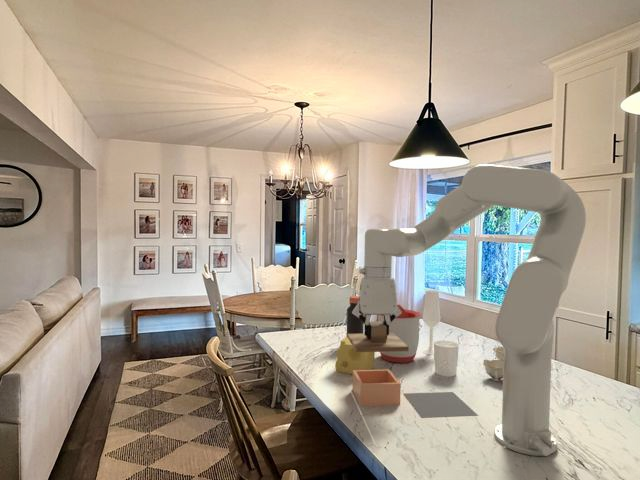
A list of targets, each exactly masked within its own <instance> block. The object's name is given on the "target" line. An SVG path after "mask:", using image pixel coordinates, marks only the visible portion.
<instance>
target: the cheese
mask: <svg viewBox="0 0 640 480" xmlns="http://www.w3.org/2000/svg"><path fill="white" fill-rule="evenodd" d="M335 354H336V357H337V360H335V364H334V365H335V372H337V373H344V374H349V375H353V370H373V369H374V368H375V355H376V352H356V350H355V349H354V347H353V346H352V344H351V343H350V341H349V339H348V338H347V336H345V337H344V338H343V339H341V340H340V345H339V347H338V348H337V350H336V353H335Z"/></svg>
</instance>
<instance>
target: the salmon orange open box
mask: <svg viewBox="0 0 640 480" xmlns="http://www.w3.org/2000/svg"><path fill="white" fill-rule="evenodd" d="M401 385H402V384H401V382H400V381H399V379H398V378H397V377H396V376H395V375H394V373H393V372H392V371H391V370H390V369H371V370H353V374H352V390H351V391H352V393H353V394H354V396H355V399H356V400H357V402H358V404H359V406H360V407H368V406H369V407H370V406H374V407H375V406H393V405H395V406H396V405H398V406H399V405H401V387H402V386H401Z"/></svg>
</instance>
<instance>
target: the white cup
mask: <svg viewBox="0 0 640 480" xmlns="http://www.w3.org/2000/svg"><path fill="white" fill-rule="evenodd" d="M459 347H460V346H459V344H458V342H455V341H451V340H436V341H434V342H433V348H434V355H433V359H434V361H433V362H434V374H436V375H439V376H441V377H455V376H456V375H457V369H458V368H457V367H458V361H459V351H460V350H459Z"/></svg>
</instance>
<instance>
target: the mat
mask: <svg viewBox="0 0 640 480" xmlns="http://www.w3.org/2000/svg"><path fill="white" fill-rule="evenodd" d="M403 396H404V398H406V400H407V401H408V403H410V405H411V406H412V407H413V409H414V410H415V411H416V413H417V415H418V416H419V417H420V418H422V419H425V418H431V419H432V418H452V417H453V418H454V417H457V418H458V417H477V416H479V415H478V413H477V412H475V411H474V410H473V409H472V408H471V407H470V406H469V405H468V404H466V403H465V402H464V401H463V400H462V399H461V398H460V397H459V396H457V393H454V391H439V392H436V391H435V392H410V393H407V392H405V393H403Z"/></svg>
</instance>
